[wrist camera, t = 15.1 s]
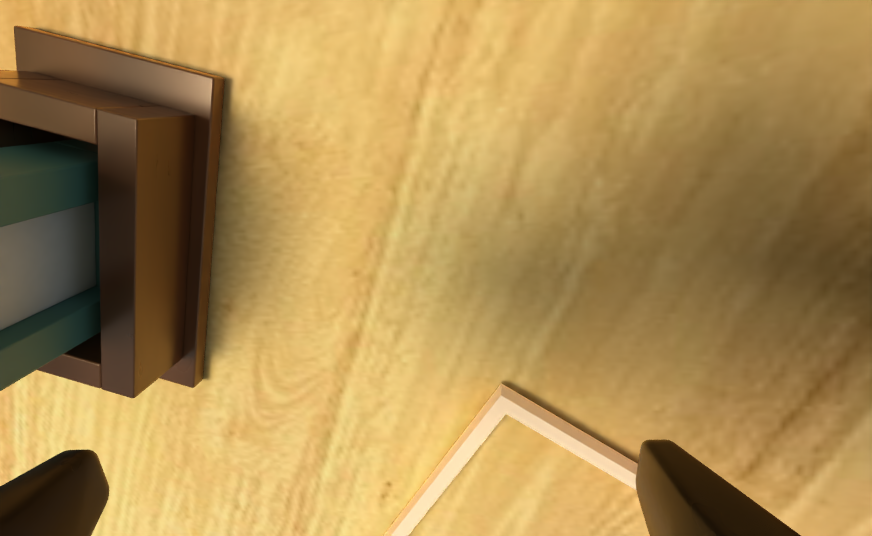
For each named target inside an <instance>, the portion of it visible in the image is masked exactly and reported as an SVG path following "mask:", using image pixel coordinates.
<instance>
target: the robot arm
mask: <svg viewBox="0 0 872 536" xmlns="http://www.w3.org/2000/svg"><path fill="white" fill-rule="evenodd" d="M636 490H637V494H638V498H639V501H640V504H641V508H642V511H643V514H644V518H645V521H646V524H647V528H648V531H649V534H650V536H801V535H799V534H798V533H797V532H795V531H794V530H792V529H791V528H790V527H788V526H787V525H786V524H784V523H783V522H782V521H780V520H779V519H777V518H776V517H775V516H773V515H772V514H771V513H769V512H768V511H767V510H765V509H764V508H762V507H761V506H760V505H758V504H757V503H756V502H754V501H753V500H752V499H750V498H749V497H747V496H746V495H745V494H743V493H742V492H741V491H739V490H738V489H737V488H735V487H734V486H732V485H731V484H730V483H728V482H727V481H726V480H724V479H723V478H722V477H720V476H719V475H717V474H716V473H715V472H713V471H712V470H711V469H709V468H708V467H706V466H705V465H704V464H702V463H701V462H700V461H698V460H697V459H696V458H694V457H693V456H691V455H690V454H689V453H687V452H686V451H685V450H683V449H682V448H681V447H679V446H678V445H676V444H675V443H674V442H672V441H670V440H646V441H644V442H643V443H642V445H641V449H640V455H639V461H638V467H637V473H636ZM108 496H109V485H108V482H107V479H106V477H105V474H104V472H103V469H102V466H101V464H100V461H99V458H98V456H97V454H96V453H95V452H93V451H91V450H68V451H64V452H62V453H60V454H58V455H56V456H54V457H53V458H51V459H49V460H47V461H45V462H44V463H42V464H40V465H38V466H36V467H35V468H33V469H31V470H29V471H27V472H26V473H24V474H22V475H20V476H18V477H17V478H15V479H13V480H11V481H9V482H8V483H6V484H4V485H2V486H0V536H91V535H92V532H93V530H94V528H95V526H96V524H97V522H98V520H99V518H100V516H101V514H102V512H103V509H104V507H105V505H106V503H107V500H108Z"/></svg>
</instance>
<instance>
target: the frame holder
mask: <svg viewBox="0 0 872 536" xmlns="http://www.w3.org/2000/svg"><path fill="white" fill-rule="evenodd" d="M14 37H15V51H16V65H17V71H10V70H0V148H2V147H11V146H20V145H29V144H38V143H47V142H54V141H62V140H71V139H77V140H80V141H84V142H88V143H92V144H95V145H98V201H99V261H100V321H101V332H99V333H98V334H96V335H94V336H93V337H91V338H89V339H87V340H86V341H84V342H82V343H81V344H79V345H77V346H76V347H74V348H72V349H71V350H69V351H67V352H65V353H64V354H62V355H60V356H59V357H57V358H55V359H54V360H52V361H50V362H49V363H47V364H45V365H43V366H42V367H40V368H38V369H37V370H39V371H42V372H46V373H49V374H53V375H56V376H59V377H63V378H66V379H70V380H73V381H77V382H80V383H83V384H87V385H90V386H94V387H97V388H102V389H103V390H106V391H109V392H113V393H116V394H120V395H123V396H126V397H130V398H135V397H136V396H137V395H139V394H140V393H141V392H142V391H143V390H145V389H146V388H147V387H148V386H150V385H151V384H152V383H153V382H154V381H156V380H157V379H158V378H161V379H164V380H167V381H171V382H174V383H178V384H181V385H185V386H188V387H192V388H194V387H195V386H196V385H197V384H198V383H199V382H200V381H202V379H203V369H204V355H205V342H206V328H207V314H208V300H209V287H210V273H211V259H212V245H213V232H214V218H215V204H216V190H217V177H218V163H219V149H220V135H221V122H222V108H223V94H224V78H223V77H220V76H216V75H212V74H208V73H204V72H200V71H197V70H193V69H189V68H185V67H181V66H177V65H173V64H170V63H166V62H162V61H158V60H154V59H150V58H146V57H143V56H139V55H135V54H131V53H127V52H123V51H119V50H116V49H112V48H108V47H104V46H100V45H96V44H92V43H89V42H85V41H81V40H77V39H73V38H69V37H65V36H62V35H58V34H54V33H50V32H46V31H42V30H38V29H35V28H30V27H22V26H14Z"/></svg>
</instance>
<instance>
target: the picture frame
mask: <svg viewBox="0 0 872 536" xmlns="http://www.w3.org/2000/svg"><path fill="white" fill-rule="evenodd" d="M99 332H101V321H100V261H99V201H98V145H95V144H92V143H88V142H84V141H80V140H77V139H71V140H62V141H54V142H47V143H38V144H29V145H20V146H11V147H2V148H0V391H1V390H3V389H5V388H6V387H8V386H10V385H11V384H13V383H15V382H16V381H18V380H20V379H21V378H23V377H25V376H27V375H28V374H30V373H32V372H33V371H35V370H37V369H38V368H40V367H42V366H43V365H45V364H47V363H49V362H50V361H52V360H54V359H55V358H57V357H59V356H60V355H62V354H64V353H65V352H67V351H69V350H71V349H72V348H74V347H76V346H77V345H79V344H81V343H82V342H84V341H86V340H87V339H89V338H91V337H93V336H94V335H96V334H98V333H99Z"/></svg>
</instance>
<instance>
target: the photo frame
mask: <svg viewBox="0 0 872 536" xmlns="http://www.w3.org/2000/svg"><path fill="white" fill-rule="evenodd" d="M506 414H507V415H509V416H510V417H512V418H514V419H516V420H517V421H519V422H521V423H522V424H524V425H526V426H528V427H529V428H531V429H533V430H534V431H536V432H538V433H539V434H541V435H543V436H545V437H546V438H548V439H550V440H551V441H553V442H555V443H557V444H558V445H560V446H562V447H563V448H565V449H567V450H568V451H570V452H572V453H574V454H575V455H577V456H579V457H580V458H582V459H584V460H586V461H587V462H589V463H591V464H592V465H594V466H596V467H597V468H599V469H601V470H603V471H604V472H606V473H608V474H609V475H611V476H613V477H615V478H616V479H618V480H620V481H621V482H623V483H625V484H626V485H628V486H630V487H632V488H633V489H635V490H636V473H637V467H638V464H637V463H635V462H634V461H632V460H630V459H629V458H627V457H625V456H624V455H622V454H620V453H619V452H617V451H615V450H613V449H612V448H610V447H608V446H607V445H605V444H603V443H602V442H600V441H598V440H596V439H595V438H593V437H591V436H590V435H588V434H586V433H585V432H583V431H581V430H580V429H578V428H576V427H574V426H573V425H571V424H569V423H568V422H566V421H564V420H563V419H561V418H559V417H558V416H556V415H554V414H552V413H551V412H549V411H547V410H546V409H544V408H542V407H541V406H539V405H537V404H535V403H534V402H532V401H530V400H529V399H527V398H525V397H524V396H522V395H520V394H519V393H517V392H515V391H513V390H512V389H510V388H508V387H507V386H505V385H503V384H502V383H501V384H500V385H499V387H498V388H497V389H496V390H495V392H494V393H493V394H492V396H491V397H490V398H489V399H488V401H487V402H486V403H485V405H484V406H483V407H482V409H481V410H480V411H479V412H478V414H477V415H476V416H475V418H474V419H473V420H472V421H471V423H470V424H469V425H468V427H467V428H466V429H465V430H464V432H463V433H462V434H461V436H460V437H459V438H458V439H457V441H456V442H455V443H454V445H453V446H452V447H451V449H450V450H449V451H448V452H447V454H446V455H445V456H444V458H443V459H442V460H441V461H440V463H439V464H438V465H437V467H436V468H435V469H434V470H433V472H432V473H431V474H430V476H429V477H428V478H427V480H426V481H425V482H424V483H423V485H422V486H421V487H420V489H419V490H418V491H417V492H416V494H415V495H414V496H413V498H412V499H411V500H410V501H409V503H408V504H407V505H406V507H405V508H404V509H403V511H402V512H401V513H400V514H399V516H398V517H397V518H396V520H395V521H394V522H393V523H392V525H391V526H390V527H389V529H388V530H387V531H386V532H385V534H384V535H383V536H408V535H409V534H410V533H411V531H412V530H413V529H414V528H415V526H416V525H417V524H418V523H419V521H420V520H421V519H422V518H423V516H424V515H425V514H426V513H427V511H428V510H429V509H430V508H431V506H432V505H433V504H434V503H435V502H436V500H437V499H438V498H439V497H440V495H441V494H442V493H443V492H444V490H445V489H446V488H447V487H448V485H449V484H450V483H451V482H452V480H453V479H454V478H455V477H456V475H457V474H458V473H459V472H460V470H461V469H462V468H463V467H464V465H465V464H466V463H467V462H468V461H469V459H470V458H471V457H472V456H473V454H474V453H475V452H476V451H477V449H478V448H479V447H480V446H481V444H482V443H483V442H484V441H485V439H486V438H487V437H488V436H489V434H490V433H491V432H492V431H493V429H494V428H495V427H496V426H497V424H498V423H499V422H500V421H501V419H502V418H503V417H504V416H505V415H506Z"/></svg>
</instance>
